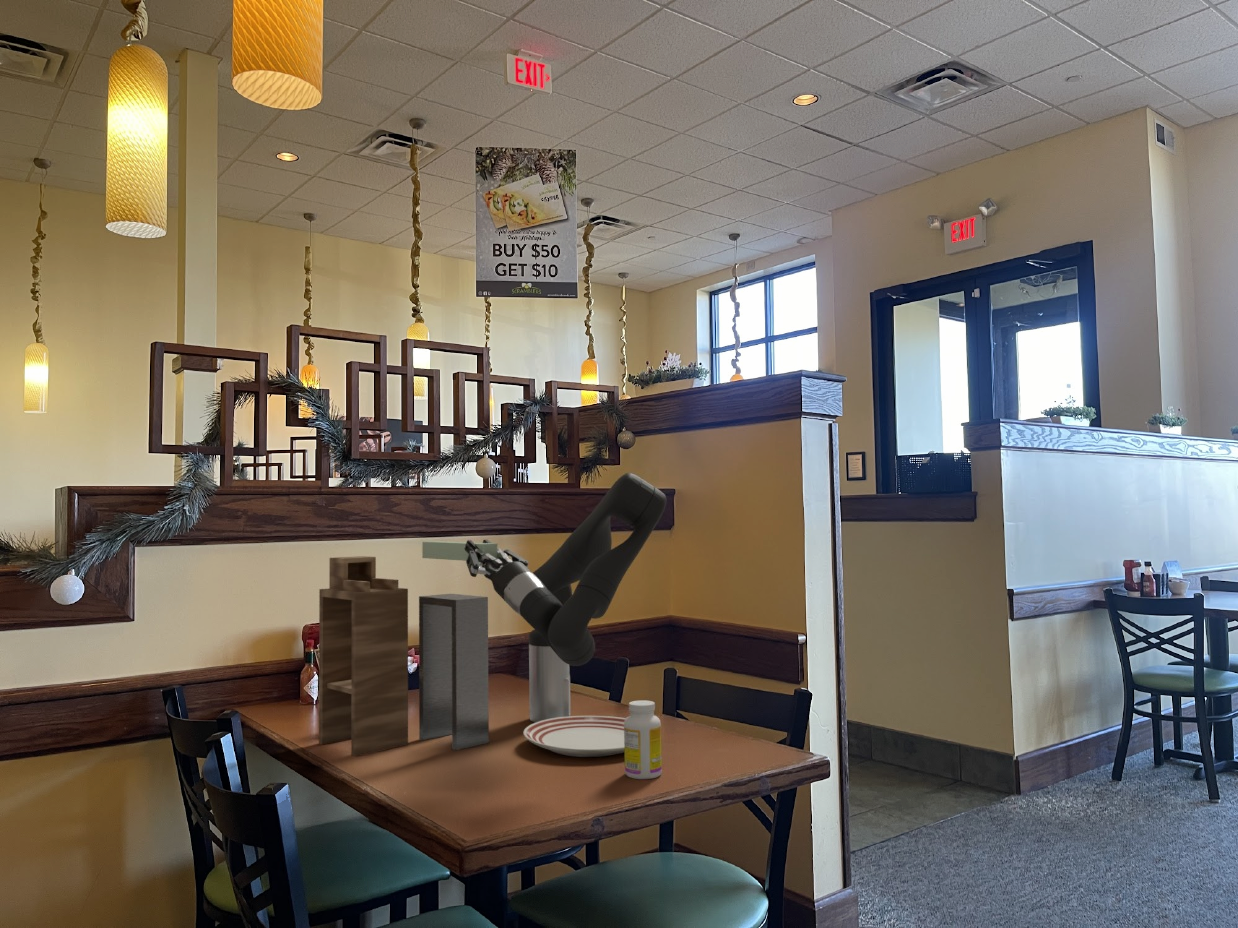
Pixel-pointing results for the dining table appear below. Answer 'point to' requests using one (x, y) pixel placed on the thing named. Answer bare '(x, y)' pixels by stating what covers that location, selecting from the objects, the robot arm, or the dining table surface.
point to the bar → (454, 550)
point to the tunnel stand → (363, 658)
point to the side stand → (454, 669)
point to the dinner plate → (579, 735)
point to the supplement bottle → (642, 741)
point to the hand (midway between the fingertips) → (475, 543)
